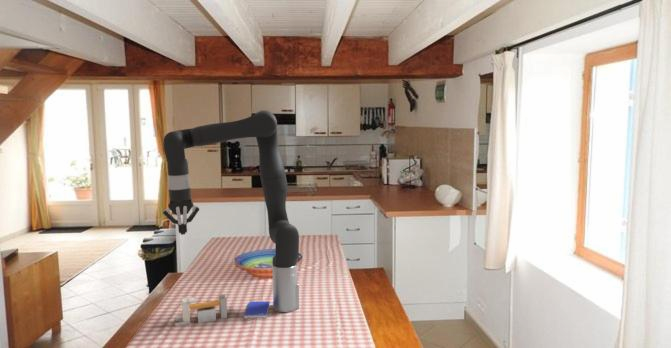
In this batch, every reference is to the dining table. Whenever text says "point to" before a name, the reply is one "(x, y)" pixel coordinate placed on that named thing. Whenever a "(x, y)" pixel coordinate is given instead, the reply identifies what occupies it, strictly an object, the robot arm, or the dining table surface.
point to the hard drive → (257, 310)
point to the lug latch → (187, 308)
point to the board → (222, 311)
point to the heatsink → (206, 314)
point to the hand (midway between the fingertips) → (183, 234)
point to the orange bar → (205, 304)
